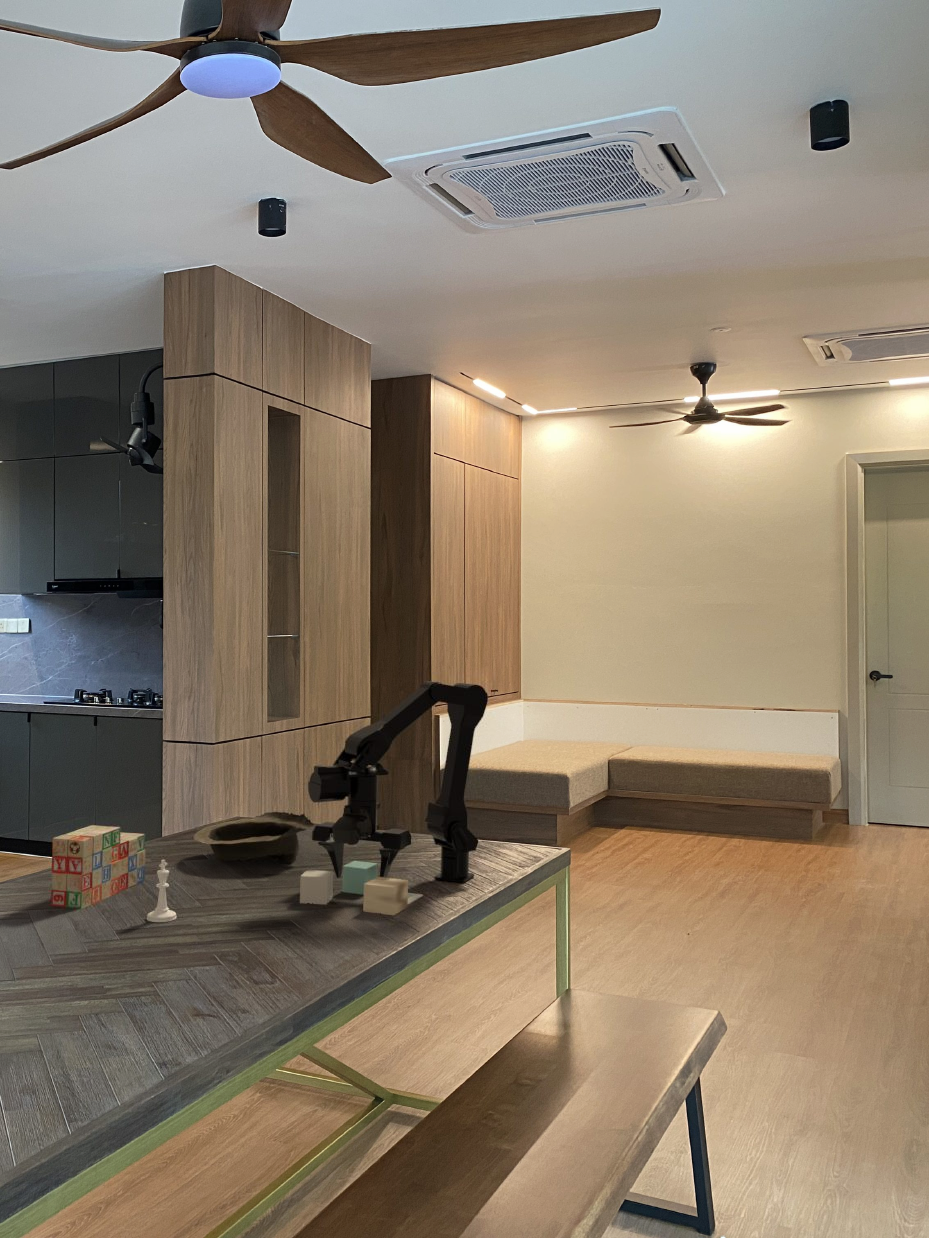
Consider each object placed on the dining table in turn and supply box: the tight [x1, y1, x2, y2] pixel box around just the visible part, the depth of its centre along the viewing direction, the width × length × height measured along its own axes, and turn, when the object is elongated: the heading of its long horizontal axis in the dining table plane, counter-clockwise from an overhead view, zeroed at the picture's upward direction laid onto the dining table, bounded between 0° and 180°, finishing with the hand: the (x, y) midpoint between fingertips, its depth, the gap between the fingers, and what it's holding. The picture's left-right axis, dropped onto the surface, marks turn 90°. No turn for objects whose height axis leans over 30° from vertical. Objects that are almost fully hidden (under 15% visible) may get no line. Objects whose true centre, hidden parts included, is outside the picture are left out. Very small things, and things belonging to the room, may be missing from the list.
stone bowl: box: [193, 811, 315, 864], centre depth 228 cm, size 25×25×9 cm
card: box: [407, 892, 424, 905], centre depth 200 cm, size 7×7×1 cm
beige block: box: [299, 869, 334, 905], centre depth 197 cm, size 5×5×5 cm
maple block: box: [362, 876, 409, 916], centre depth 192 cm, size 6×6×5 cm
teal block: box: [341, 860, 379, 896], centre depth 205 cm, size 5×5×5 cm
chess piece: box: [146, 859, 177, 923], centre depth 182 cm, size 5×5×10 cm
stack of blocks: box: [50, 824, 146, 910], centre depth 198 cm, size 21×6×12 cm, turn 167°
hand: (360, 880), depth 205 cm, fingers open, 9 cm apart
